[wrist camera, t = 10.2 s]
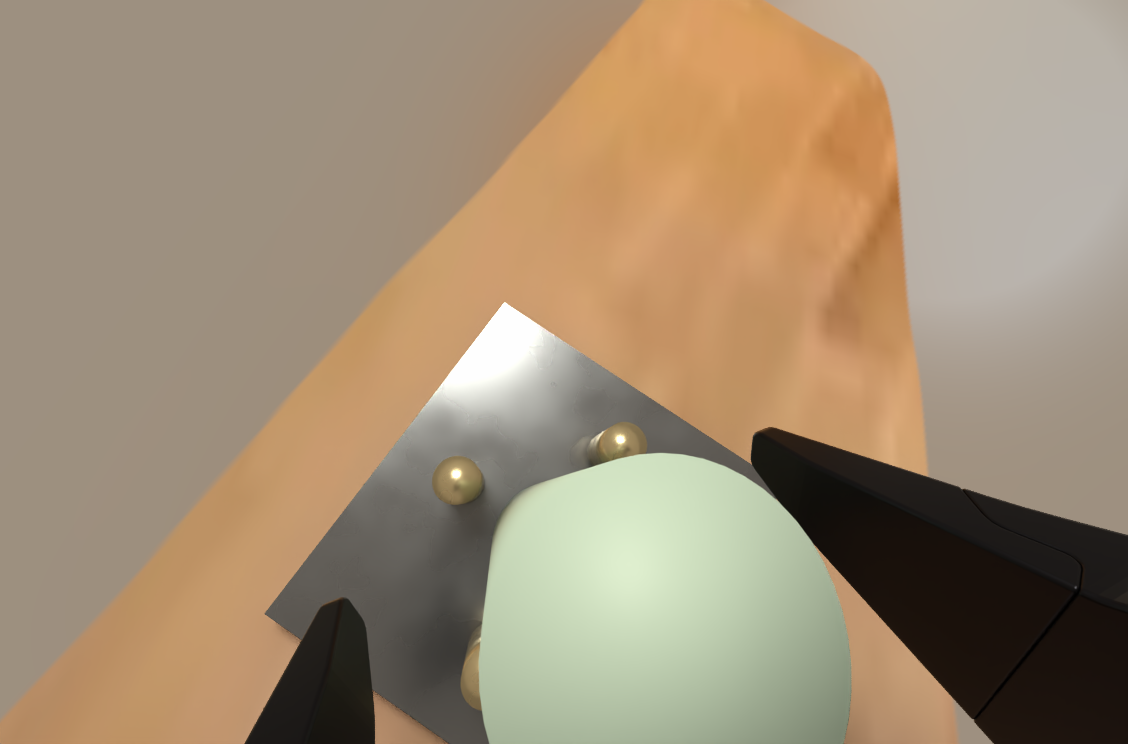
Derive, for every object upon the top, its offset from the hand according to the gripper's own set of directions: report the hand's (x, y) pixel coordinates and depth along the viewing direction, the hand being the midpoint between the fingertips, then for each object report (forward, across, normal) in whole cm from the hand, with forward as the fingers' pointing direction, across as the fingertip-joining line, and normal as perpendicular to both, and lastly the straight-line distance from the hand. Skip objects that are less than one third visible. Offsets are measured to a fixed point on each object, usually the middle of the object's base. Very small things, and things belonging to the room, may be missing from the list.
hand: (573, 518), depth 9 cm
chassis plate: (+6, 0, +7) cm, 9 cm away
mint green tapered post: (+5, 0, +7) cm, 8 cm away
